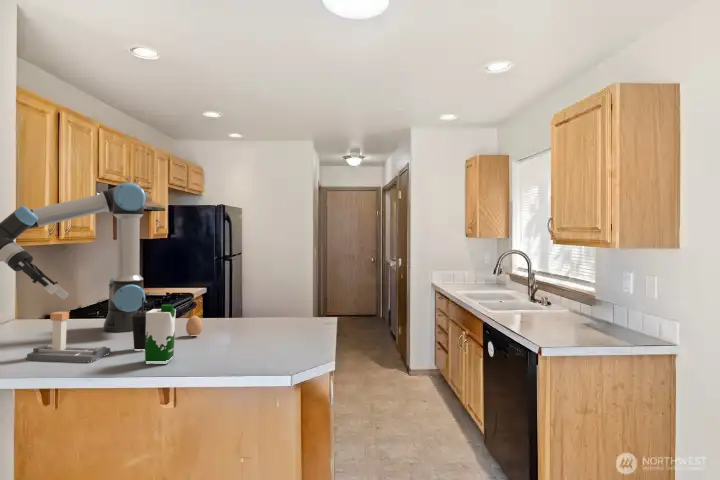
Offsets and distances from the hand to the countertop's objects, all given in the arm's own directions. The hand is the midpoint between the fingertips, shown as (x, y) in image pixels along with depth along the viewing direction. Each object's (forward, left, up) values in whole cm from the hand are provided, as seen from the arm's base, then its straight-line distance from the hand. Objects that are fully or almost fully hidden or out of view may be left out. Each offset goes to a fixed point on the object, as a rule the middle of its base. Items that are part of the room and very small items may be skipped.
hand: (60, 294), depth 175 cm
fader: (0, +12, -18) cm, 22 cm away
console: (-4, +14, -20) cm, 25 cm away
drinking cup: (-27, +13, -20) cm, 36 cm away
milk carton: (-31, +32, -20) cm, 49 cm away
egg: (-49, -2, -20) cm, 53 cm away
